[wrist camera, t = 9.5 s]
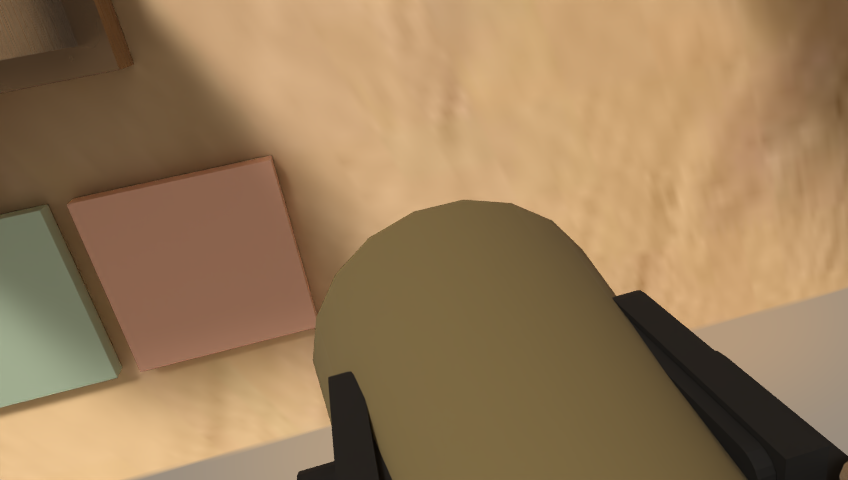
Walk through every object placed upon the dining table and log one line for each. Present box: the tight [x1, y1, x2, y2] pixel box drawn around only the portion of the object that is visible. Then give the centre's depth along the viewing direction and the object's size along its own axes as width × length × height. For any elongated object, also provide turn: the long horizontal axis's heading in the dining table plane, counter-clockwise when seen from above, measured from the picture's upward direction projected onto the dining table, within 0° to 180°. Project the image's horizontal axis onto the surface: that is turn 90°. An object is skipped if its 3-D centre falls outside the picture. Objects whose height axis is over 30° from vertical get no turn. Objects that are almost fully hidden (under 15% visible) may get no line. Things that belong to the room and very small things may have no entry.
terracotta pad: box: [66, 155, 317, 372], centre depth 25 cm, size 8×8×1 cm
